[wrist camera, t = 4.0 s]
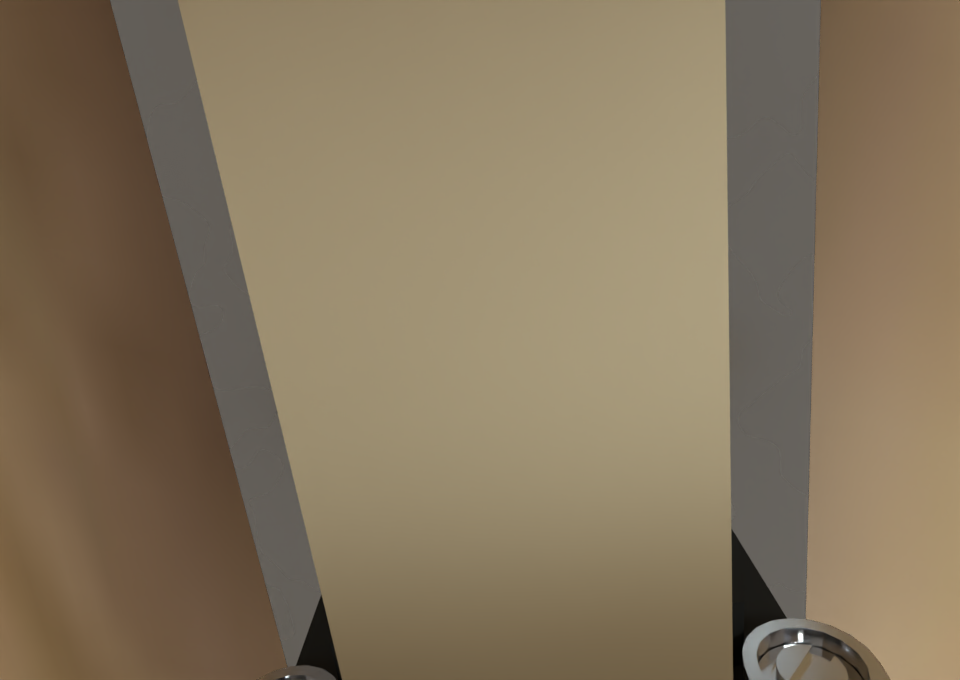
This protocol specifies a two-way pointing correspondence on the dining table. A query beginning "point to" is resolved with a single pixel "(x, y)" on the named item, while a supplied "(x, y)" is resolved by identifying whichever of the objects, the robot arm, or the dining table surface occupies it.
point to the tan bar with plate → (492, 321)
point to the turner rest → (751, 276)
